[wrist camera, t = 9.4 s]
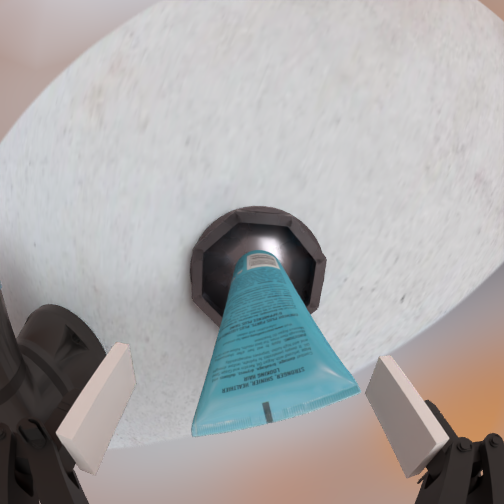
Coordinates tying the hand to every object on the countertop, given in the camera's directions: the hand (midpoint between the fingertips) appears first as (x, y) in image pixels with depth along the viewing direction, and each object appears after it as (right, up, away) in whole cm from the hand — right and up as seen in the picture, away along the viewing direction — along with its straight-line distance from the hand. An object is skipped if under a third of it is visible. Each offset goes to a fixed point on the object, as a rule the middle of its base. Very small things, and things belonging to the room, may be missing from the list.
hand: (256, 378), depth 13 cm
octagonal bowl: (0, +4, +16) cm, 17 cm away
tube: (+1, +4, +16) cm, 16 cm away
